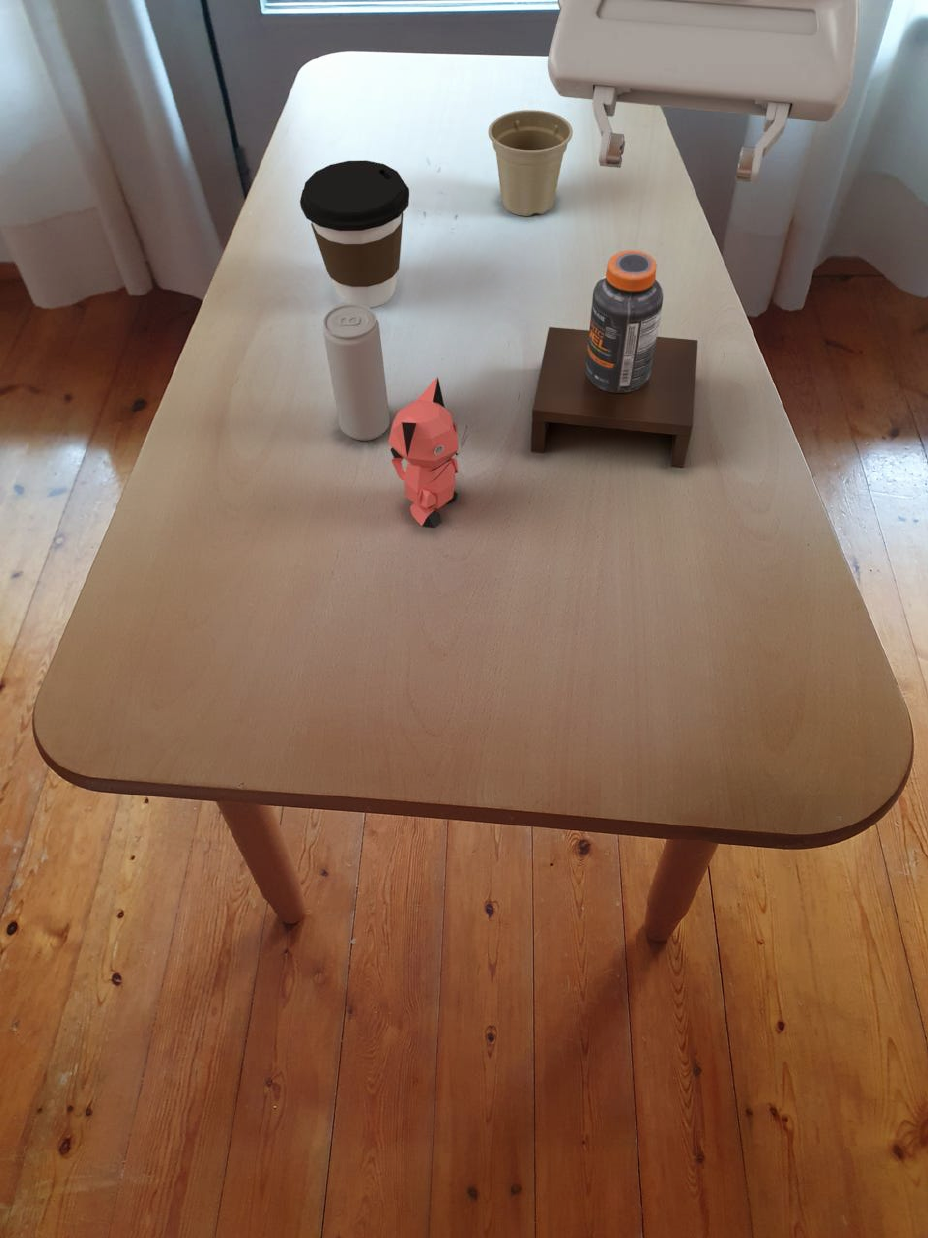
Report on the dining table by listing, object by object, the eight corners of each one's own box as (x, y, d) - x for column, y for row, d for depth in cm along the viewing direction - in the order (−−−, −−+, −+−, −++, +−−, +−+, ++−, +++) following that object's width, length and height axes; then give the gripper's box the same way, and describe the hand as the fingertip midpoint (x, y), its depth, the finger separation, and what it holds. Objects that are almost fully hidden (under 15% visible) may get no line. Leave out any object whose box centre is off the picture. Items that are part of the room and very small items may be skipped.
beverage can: (388, 444, 88) (375, 337, 79) (337, 444, 89) (318, 337, 79) (392, 409, 91) (380, 302, 82) (342, 409, 91) (324, 302, 82)
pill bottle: (574, 362, 87) (583, 250, 78) (632, 346, 88) (648, 234, 79) (602, 402, 84) (615, 290, 75) (662, 385, 85) (682, 273, 76)
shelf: (688, 382, 93) (697, 339, 89) (683, 467, 86) (693, 426, 82) (546, 368, 94) (549, 326, 90) (530, 451, 87) (532, 409, 83)
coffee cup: (385, 251, 107) (374, 146, 97) (435, 299, 102) (429, 192, 92) (299, 284, 104) (279, 178, 94) (346, 335, 98) (330, 228, 89)
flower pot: (569, 183, 115) (574, 110, 108) (566, 226, 109) (571, 152, 102) (492, 180, 116) (492, 108, 109) (485, 223, 110) (484, 149, 103)
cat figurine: (444, 544, 81) (438, 439, 71) (375, 518, 83) (359, 413, 73) (481, 490, 85) (479, 384, 75) (413, 467, 86) (403, 360, 77)
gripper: (561, -83, 62) (524, 139, 64) (886, -63, 58) (834, 172, 61) (570, -31, 68) (536, 170, 70) (865, -10, 64) (819, 202, 67)
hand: (676, 171), depth 65 cm, fingers open, 8 cm apart
